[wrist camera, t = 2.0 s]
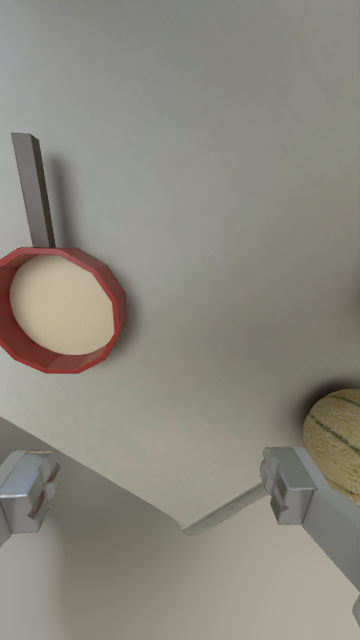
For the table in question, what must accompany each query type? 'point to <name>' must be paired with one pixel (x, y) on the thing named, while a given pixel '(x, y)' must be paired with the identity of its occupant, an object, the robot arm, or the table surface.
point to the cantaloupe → (336, 440)
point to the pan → (54, 288)
